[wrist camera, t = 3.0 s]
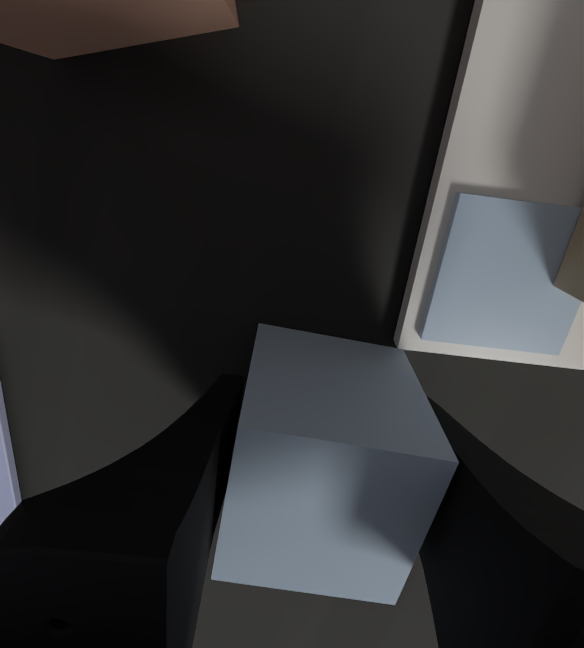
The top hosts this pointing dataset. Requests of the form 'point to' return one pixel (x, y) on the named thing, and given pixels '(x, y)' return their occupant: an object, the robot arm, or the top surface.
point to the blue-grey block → (331, 469)
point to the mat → (505, 194)
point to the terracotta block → (106, 23)
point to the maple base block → (573, 264)
